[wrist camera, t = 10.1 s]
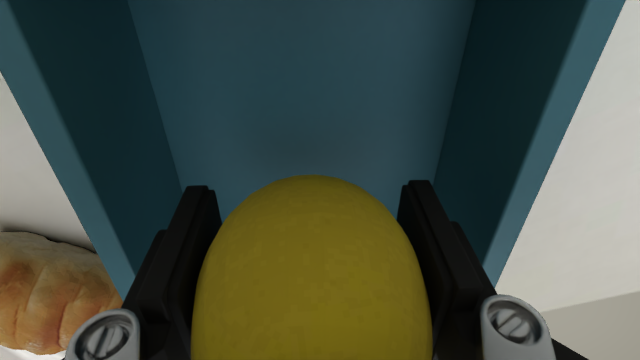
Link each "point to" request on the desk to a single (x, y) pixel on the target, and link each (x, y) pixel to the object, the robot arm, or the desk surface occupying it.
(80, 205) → the teal open bin
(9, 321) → the pastry
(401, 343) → the lemon
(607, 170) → the desk surface
